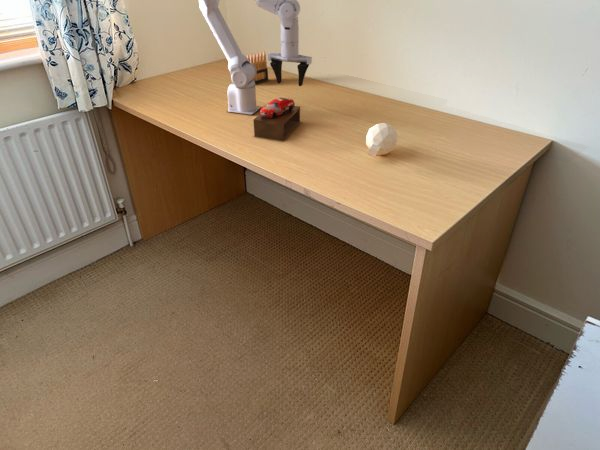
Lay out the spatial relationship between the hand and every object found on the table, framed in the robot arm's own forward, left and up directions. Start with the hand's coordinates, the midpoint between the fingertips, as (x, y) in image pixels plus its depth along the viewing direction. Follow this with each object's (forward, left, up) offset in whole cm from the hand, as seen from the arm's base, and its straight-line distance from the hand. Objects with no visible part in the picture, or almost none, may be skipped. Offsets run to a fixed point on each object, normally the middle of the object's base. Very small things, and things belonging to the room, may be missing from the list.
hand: (289, 84), depth 146 cm
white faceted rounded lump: (+35, -22, -11) cm, 43 cm away
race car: (+1, -15, -5) cm, 15 cm away
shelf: (+1, -15, -10) cm, 18 cm away
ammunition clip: (-26, +30, -11) cm, 41 cm away
